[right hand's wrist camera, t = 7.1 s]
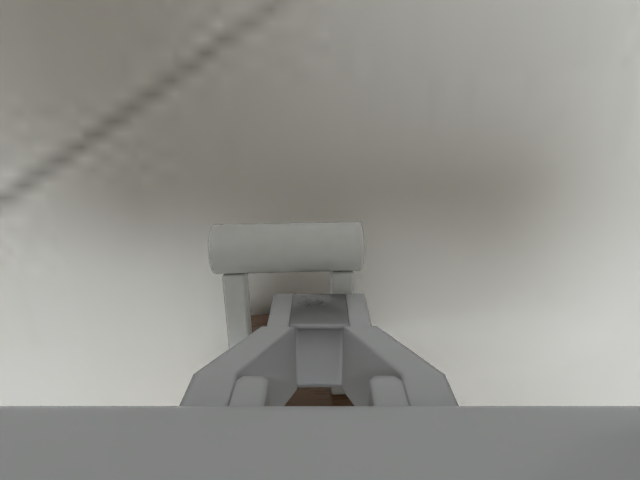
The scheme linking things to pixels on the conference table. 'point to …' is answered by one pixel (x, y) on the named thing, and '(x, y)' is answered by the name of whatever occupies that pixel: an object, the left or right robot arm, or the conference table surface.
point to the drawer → (284, 256)
